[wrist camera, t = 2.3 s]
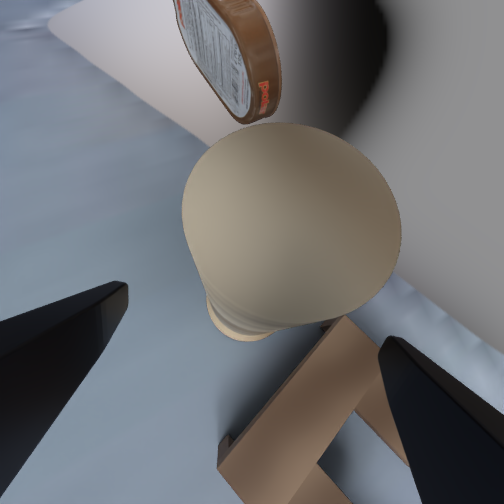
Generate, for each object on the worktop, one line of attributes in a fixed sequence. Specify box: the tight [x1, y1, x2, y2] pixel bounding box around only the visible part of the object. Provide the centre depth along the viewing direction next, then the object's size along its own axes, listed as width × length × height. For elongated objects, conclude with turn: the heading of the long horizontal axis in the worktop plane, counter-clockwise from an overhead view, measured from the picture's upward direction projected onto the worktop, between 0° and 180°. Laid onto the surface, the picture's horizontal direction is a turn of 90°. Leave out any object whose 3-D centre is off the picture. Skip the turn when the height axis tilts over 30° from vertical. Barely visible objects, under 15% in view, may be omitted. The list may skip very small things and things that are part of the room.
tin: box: [173, 0, 282, 124], centre depth 21 cm, size 15×3×8 cm, turn 31°
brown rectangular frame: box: [217, 315, 410, 504], centre depth 14 cm, size 16×11×3 cm, turn 45°
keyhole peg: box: [182, 123, 401, 342], centre depth 12 cm, size 6×6×13 cm
